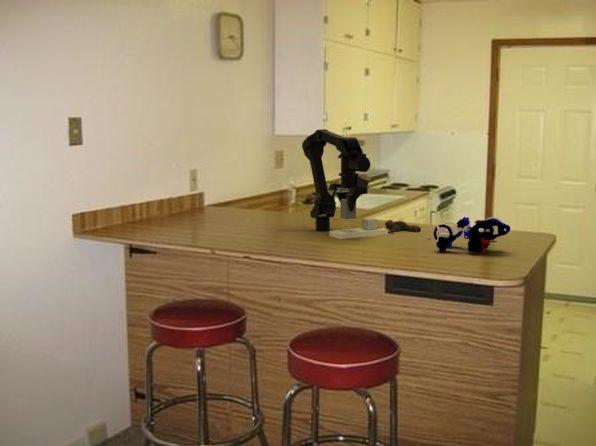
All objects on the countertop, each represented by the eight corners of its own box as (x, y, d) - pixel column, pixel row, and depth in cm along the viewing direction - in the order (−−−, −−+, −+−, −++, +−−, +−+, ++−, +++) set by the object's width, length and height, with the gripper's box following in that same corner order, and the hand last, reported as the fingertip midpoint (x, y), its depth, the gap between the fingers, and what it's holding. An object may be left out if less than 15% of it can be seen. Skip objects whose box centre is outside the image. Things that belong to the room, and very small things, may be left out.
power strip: (340, 241, 262) (340, 232, 261) (329, 238, 269) (329, 229, 268) (387, 236, 272) (387, 227, 271) (376, 233, 279) (376, 224, 278)
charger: (340, 217, 268) (340, 198, 266) (349, 216, 270) (350, 198, 268) (346, 219, 264) (346, 200, 263) (356, 218, 266) (356, 199, 265)
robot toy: (442, 214, 252) (512, 215, 241) (442, 246, 254) (512, 249, 243) (431, 220, 238) (505, 222, 227) (431, 254, 240) (505, 257, 229)
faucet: (424, 233, 280) (406, 242, 269) (388, 227, 290) (369, 236, 279) (424, 221, 279) (406, 231, 268) (388, 216, 289) (369, 225, 278)
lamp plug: (361, 233, 273) (361, 218, 272) (370, 232, 275) (371, 217, 275) (367, 235, 270) (368, 220, 269) (377, 234, 272) (377, 219, 271)
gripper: (379, 171, 259) (379, 212, 262) (352, 168, 276) (352, 206, 278) (354, 172, 254) (354, 214, 257) (329, 169, 271) (329, 208, 273)
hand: (348, 210), depth 266 cm, fingers closed on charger, 4 cm apart
